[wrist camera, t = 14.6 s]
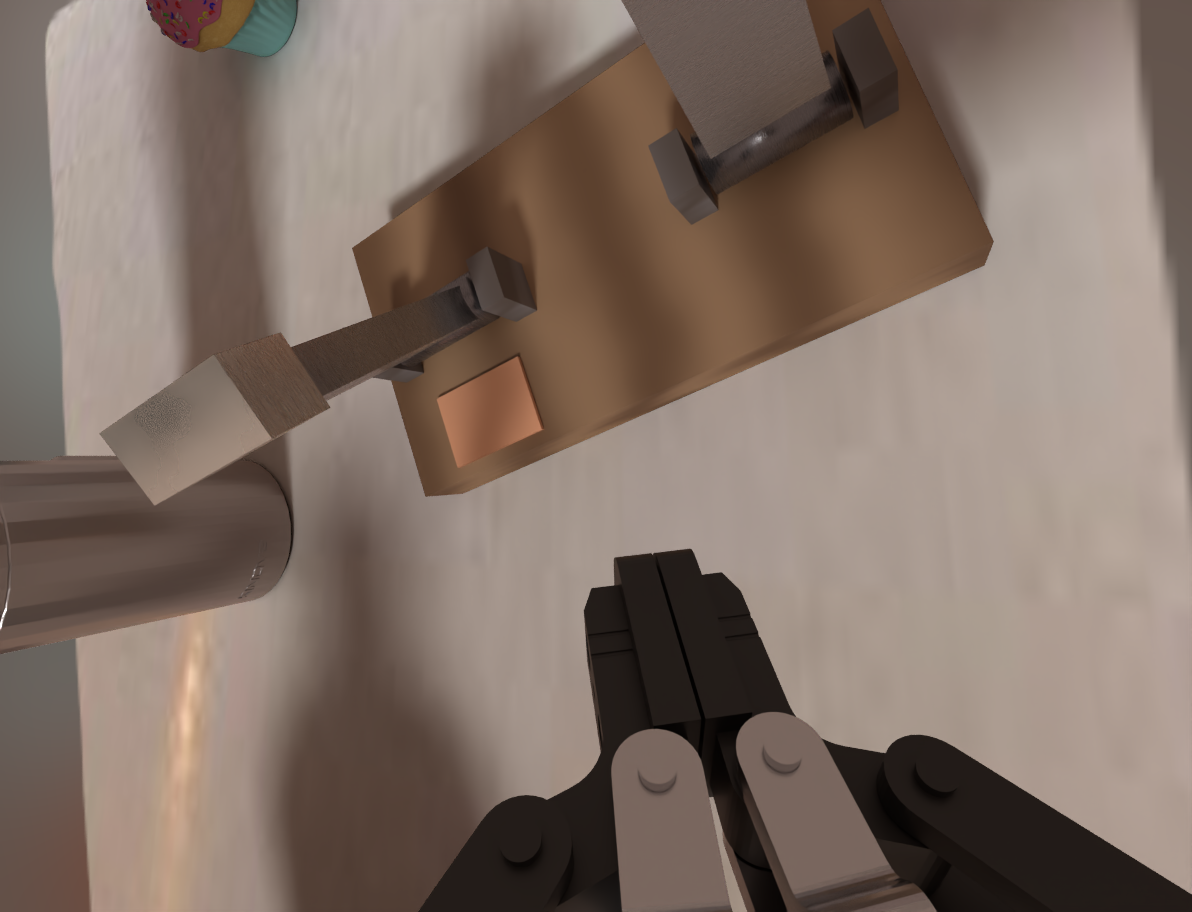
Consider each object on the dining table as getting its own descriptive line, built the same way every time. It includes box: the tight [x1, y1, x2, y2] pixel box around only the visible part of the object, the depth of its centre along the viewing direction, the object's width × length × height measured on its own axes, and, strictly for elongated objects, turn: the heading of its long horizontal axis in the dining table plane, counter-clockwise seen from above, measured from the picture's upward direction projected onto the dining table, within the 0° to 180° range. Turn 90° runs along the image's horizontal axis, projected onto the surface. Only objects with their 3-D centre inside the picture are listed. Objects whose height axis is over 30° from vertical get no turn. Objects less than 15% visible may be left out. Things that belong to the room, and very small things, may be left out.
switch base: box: [352, 0, 994, 496], centre depth 28 cm, size 26×14×6 cm, turn 111°
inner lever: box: [99, 271, 500, 506], centre depth 24 cm, size 5×2×16 cm, turn 111°
